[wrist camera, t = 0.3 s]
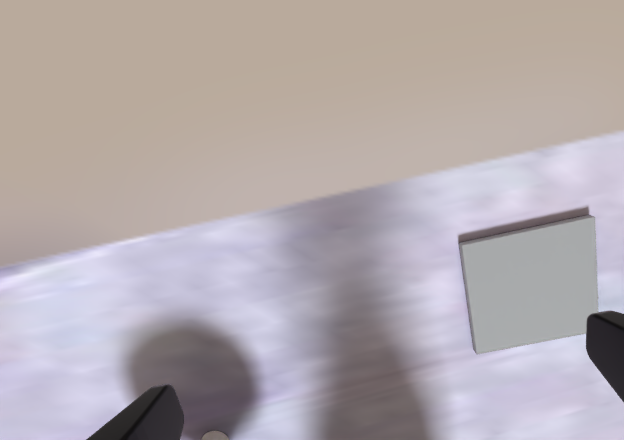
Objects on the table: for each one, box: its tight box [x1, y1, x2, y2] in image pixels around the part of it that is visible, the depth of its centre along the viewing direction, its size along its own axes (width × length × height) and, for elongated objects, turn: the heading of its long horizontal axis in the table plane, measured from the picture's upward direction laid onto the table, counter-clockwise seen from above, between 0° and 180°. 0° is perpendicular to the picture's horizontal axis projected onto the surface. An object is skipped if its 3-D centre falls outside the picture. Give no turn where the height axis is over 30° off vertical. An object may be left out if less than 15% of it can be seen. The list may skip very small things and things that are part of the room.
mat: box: [459, 215, 598, 354], centre depth 23 cm, size 8×8×1 cm
